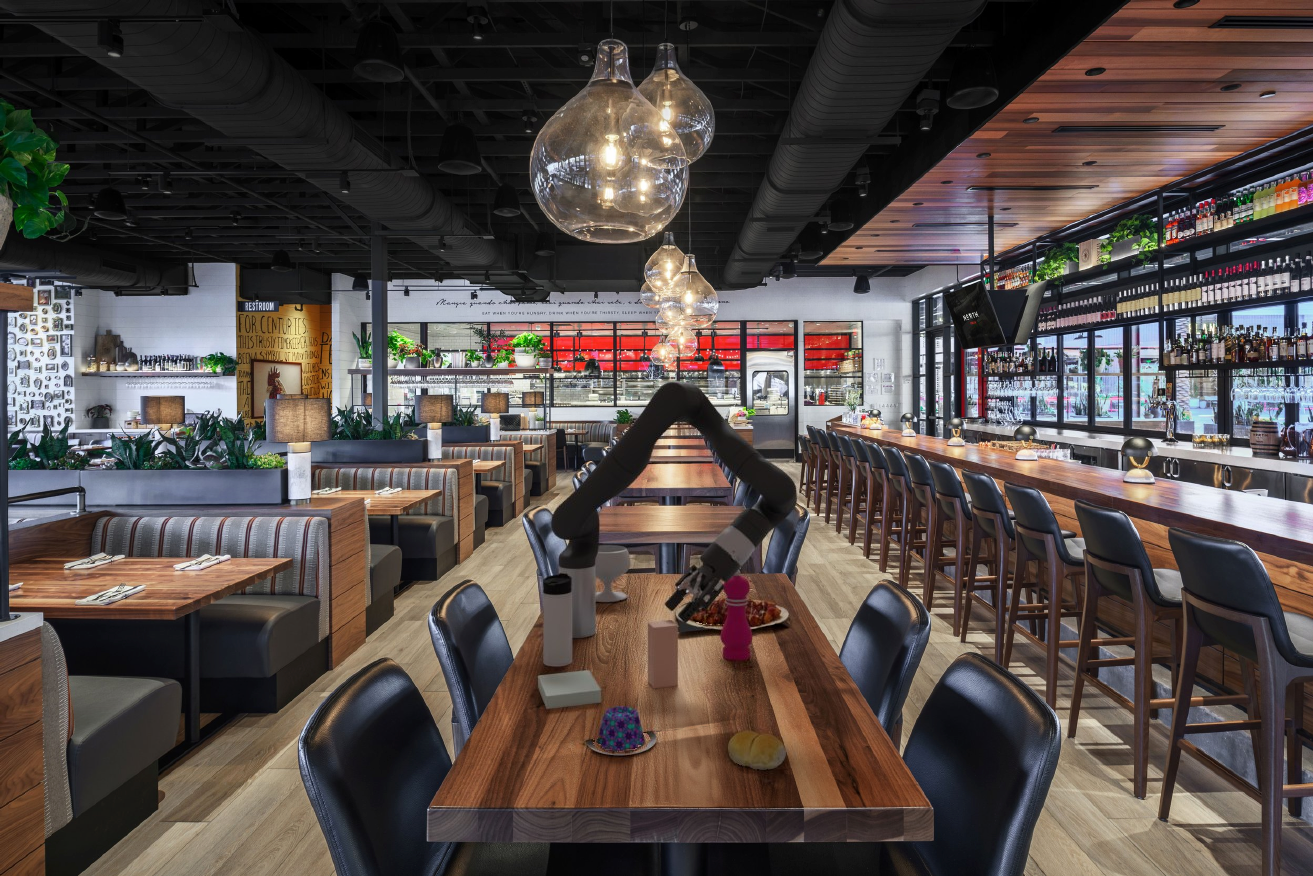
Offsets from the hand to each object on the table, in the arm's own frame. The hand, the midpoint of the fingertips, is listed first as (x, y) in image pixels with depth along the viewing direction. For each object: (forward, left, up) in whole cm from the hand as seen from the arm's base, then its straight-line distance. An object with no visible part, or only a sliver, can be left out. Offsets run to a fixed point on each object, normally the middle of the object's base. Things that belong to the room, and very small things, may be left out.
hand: (674, 613), depth 145 cm
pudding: (+1, -25, -16) cm, 30 cm away
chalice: (-47, +58, -15) cm, 76 cm away
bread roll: (+24, -21, -16) cm, 35 cm away
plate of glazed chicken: (-5, +51, -16) cm, 54 cm away
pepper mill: (+5, +24, -15) cm, 29 cm away
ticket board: (-10, -9, -15) cm, 20 cm away
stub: (-2, -2, -14) cm, 14 cm away
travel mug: (-28, +1, -15) cm, 32 cm away
